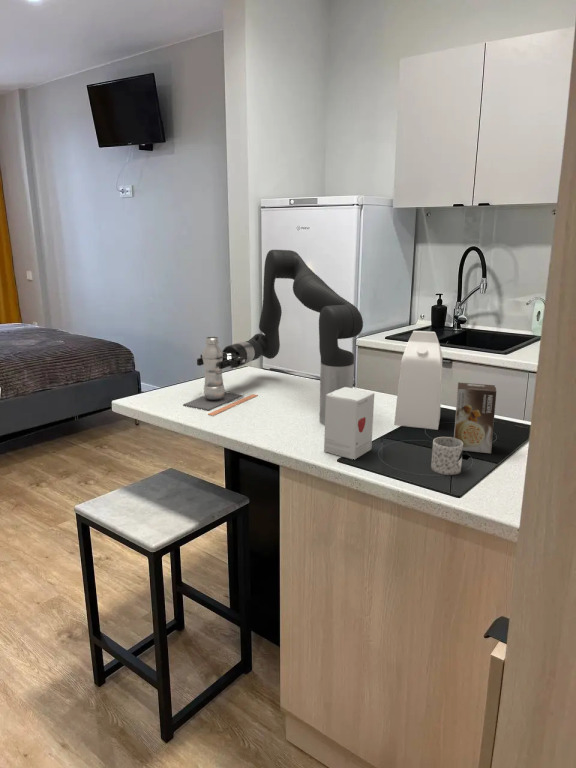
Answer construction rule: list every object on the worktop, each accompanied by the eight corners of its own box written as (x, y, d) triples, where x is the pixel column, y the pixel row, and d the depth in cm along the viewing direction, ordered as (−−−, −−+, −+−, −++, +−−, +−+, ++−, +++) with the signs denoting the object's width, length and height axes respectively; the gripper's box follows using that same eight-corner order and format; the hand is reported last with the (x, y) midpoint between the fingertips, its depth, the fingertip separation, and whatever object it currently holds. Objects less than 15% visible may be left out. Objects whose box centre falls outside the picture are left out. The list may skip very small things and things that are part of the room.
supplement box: (354, 460, 132) (357, 400, 128) (323, 452, 137) (324, 394, 133) (372, 449, 139) (375, 392, 135) (342, 441, 144) (344, 385, 140)
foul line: (257, 395, 183) (257, 394, 183) (213, 416, 163) (213, 415, 163) (252, 394, 184) (252, 394, 184) (207, 414, 164) (207, 413, 164)
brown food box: (489, 445, 142) (496, 384, 138) (491, 454, 136) (498, 391, 132) (452, 441, 145) (458, 381, 141) (452, 449, 139) (457, 388, 135)
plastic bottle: (223, 402, 174) (221, 339, 169) (202, 402, 174) (199, 339, 169) (226, 396, 180) (224, 335, 175) (205, 396, 180) (202, 335, 175)
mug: (464, 475, 125) (467, 447, 123) (435, 475, 125) (437, 447, 123) (451, 457, 134) (453, 431, 133) (424, 457, 134) (426, 431, 133)
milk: (440, 416, 164) (447, 329, 157) (437, 429, 153) (445, 336, 146) (398, 412, 167) (404, 327, 160) (394, 424, 157) (399, 334, 150)
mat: (242, 396, 183) (242, 394, 182) (208, 411, 168) (208, 409, 167) (218, 391, 187) (218, 390, 187) (183, 405, 172) (183, 404, 172)
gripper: (221, 341, 188) (190, 349, 175) (256, 345, 182) (227, 354, 168) (221, 362, 190) (191, 372, 177) (256, 367, 184) (227, 378, 170)
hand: (208, 364), depth 172 cm, fingers open, 8 cm apart
